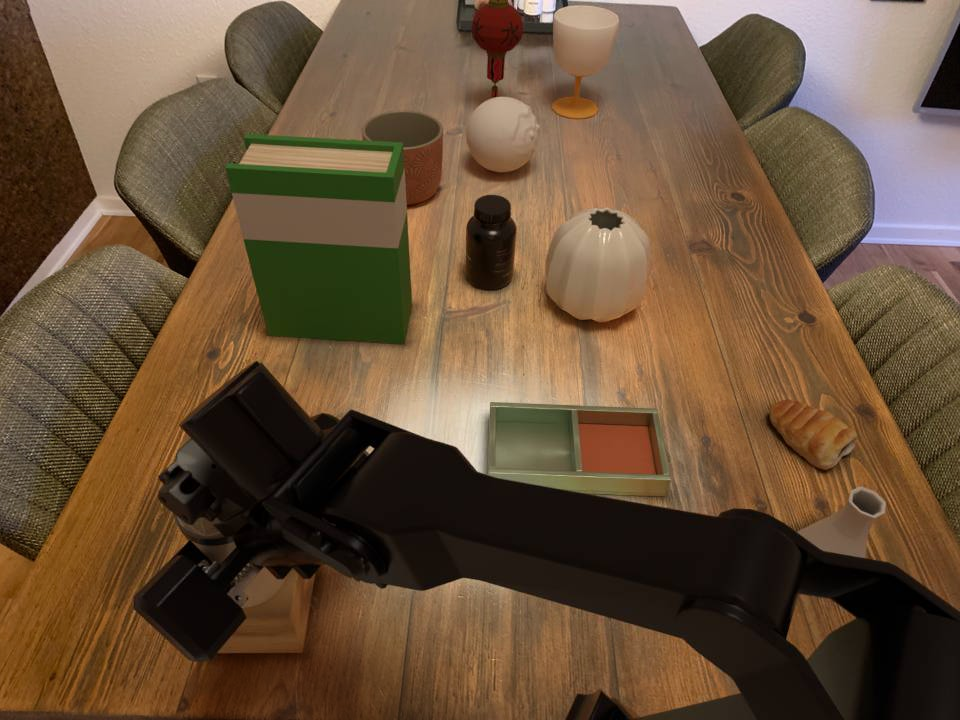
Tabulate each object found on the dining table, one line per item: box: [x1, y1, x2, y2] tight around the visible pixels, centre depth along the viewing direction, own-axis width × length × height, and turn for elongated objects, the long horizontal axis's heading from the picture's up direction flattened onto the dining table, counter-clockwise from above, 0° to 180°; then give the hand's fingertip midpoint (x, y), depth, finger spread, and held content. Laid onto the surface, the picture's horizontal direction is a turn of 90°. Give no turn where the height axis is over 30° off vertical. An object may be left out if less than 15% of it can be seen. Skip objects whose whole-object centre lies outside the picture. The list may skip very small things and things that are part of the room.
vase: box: [544, 206, 652, 323], centre depth 93 cm, size 14×14×13 cm
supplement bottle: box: [464, 194, 518, 291], centre depth 97 cm, size 7×7×12 cm
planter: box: [361, 109, 444, 205], centre depth 112 cm, size 12×12×11 cm
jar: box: [173, 513, 287, 608], centre depth 57 cm, size 7×7×11 cm
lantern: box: [470, 0, 524, 99], centre depth 127 cm, size 10×10×30 cm
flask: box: [796, 485, 887, 558], centre depth 67 cm, size 7×7×10 cm
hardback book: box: [224, 133, 413, 345], centre depth 85 cm, size 18×7×24 cm, turn 86°
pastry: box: [769, 399, 858, 471], centre depth 80 cm, size 9×7×4 cm
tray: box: [487, 401, 672, 498], centre depth 78 cm, size 10×19×3 cm, turn 88°
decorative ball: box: [465, 96, 541, 173], centre depth 118 cm, size 12×12×12 cm
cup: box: [551, 4, 620, 120], centre depth 132 cm, size 12×12×17 cm
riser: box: [217, 568, 316, 654], centre depth 63 cm, size 8×8×7 cm
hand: (224, 532), depth 57 cm, fingers closed on jar, 6 cm apart
